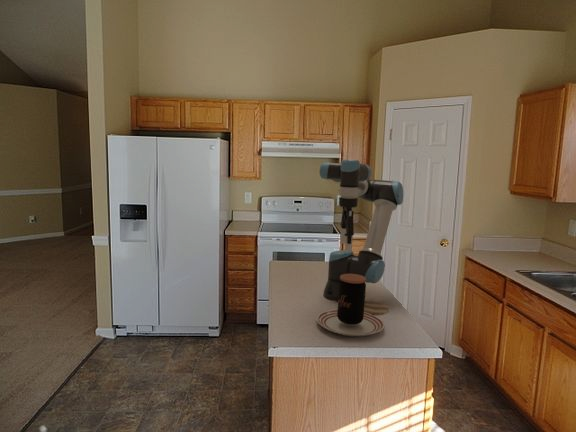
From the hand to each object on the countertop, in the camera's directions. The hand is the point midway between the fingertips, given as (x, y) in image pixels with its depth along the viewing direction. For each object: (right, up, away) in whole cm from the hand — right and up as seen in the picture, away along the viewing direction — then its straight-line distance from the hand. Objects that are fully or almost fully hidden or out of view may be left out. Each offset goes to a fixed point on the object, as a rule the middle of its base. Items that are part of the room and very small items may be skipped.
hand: (345, 247), depth 169 cm
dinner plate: (+1, -33, -5) cm, 33 cm away
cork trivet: (+14, -30, +17) cm, 37 cm away
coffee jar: (+1, -30, -5) cm, 30 cm away
